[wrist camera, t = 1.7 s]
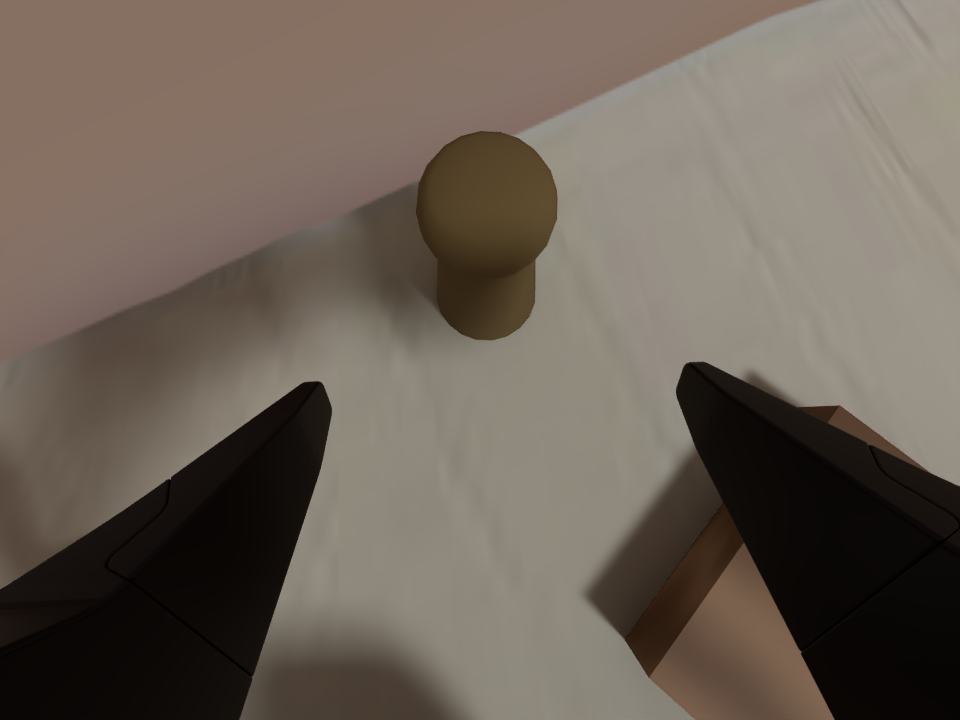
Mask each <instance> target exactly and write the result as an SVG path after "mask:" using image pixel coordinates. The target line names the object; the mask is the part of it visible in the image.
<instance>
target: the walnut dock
mask: <svg viewBox="0 0 960 720" xmlns="http://www.w3.org/2000/svg"><path fill="white" fill-rule="evenodd" d="M797 408H799V409H801V410H803V411H805V412H807V413H809V414H811V415H813V416H815V417H817V418H819V419H821V420H823V421H825V422H827V423H829V424H831V425H833V426H835V427H837V428H839V429H841V430H843V431H845V432H847V433H849V434H851V435H853V436H855V437H857V438H859V439H861V440H863V441H865V442H867V443H868V445H873V446H875V447H877V448H879V449H881V450H883V451H885V452H887V453H889V454H891V455H893V456H896V457H898V458H900V459H902V460H904V461H906V462H908V463H910V464H912V465H914V466H916V467H918V468H920V469H923V470H925V471H927V470H926V469H924V468H923V467H922V466H920V465H919V464H918V463H916V462H915V461H914V460H912V459H911V458H910V457H908V456H907V455H906V454H904V453H903V452H902V451H900V450H899V449H898V448H896V447H895V446H894V445H892V444H891V443H890V442H888V441H887V440H885V439H884V438H883V437H881V436H880V435H879V434H877V433H876V432H875V431H873V430H872V429H871V428H869V427H868V426H867V425H865V424H864V423H863V422H861V421H860V420H859V419H857V418H856V417H855V416H853V415H852V414H851V413H849V412H848V411H847V410H845V409H844V408H843V407H841V406H818V407H797ZM927 472H928V471H927ZM929 473H930V472H929ZM625 641H626V642H627V644H628V646H629V647H630V649H631V650H632V652H633V653H634V655H635V657H636V658H637V660H638V661H639V663H640V664H641V666H642V668H643V669H644V671H645V672H646V674H647V675H648V677H649V678H650V679H651V680H652V681H653V682H654V683H655V684H656V685H658V686H659V687H660V688H661V689H662V690H663V691H664V692H665V693H666V694H668V695H669V696H670V697H671V698H672V699H673V700H674V701H675V702H676V703H678V704H679V705H680V706H681V707H682V708H683V709H684V710H685V711H686V712H688V713H689V714H690V715H691V716H692V717H693V718H694V719H695V720H834V718H833V716H832V714H831V712H830V710H829V708H828V706H827V704H826V702H825V700H824V699H823V697H822V695H821V693H820V691H819V689H818V687H817V685H816V683H815V681H814V679H813V677H812V675H811V673H810V671H809V669H808V667H807V665H806V663H805V661H804V659H803V658H802V656H801V652H802V651H800V650H799V649H798V647H797V645H796V643H795V641H794V639H793V637H792V635H791V633H790V631H789V630H788V628H787V626H786V624H785V622H784V620H783V618H782V616H781V614H780V612H779V610H778V608H777V606H776V604H775V602H774V600H773V598H772V596H771V594H770V592H769V590H768V588H767V587H766V585H765V583H764V581H763V579H762V577H761V575H760V573H759V571H758V569H757V567H756V565H755V563H754V561H753V559H752V557H751V555H750V553H749V551H748V549H747V547H746V545H745V544H744V542H743V540H742V538H741V536H740V534H739V532H738V530H737V528H736V526H735V524H734V522H733V520H732V518H731V516H730V514H729V512H728V510H727V508H726V506H725V504H724V503H723V504H722V506H721V507H720V508H719V510H718V511H717V512H716V514H715V515H714V517H713V518H712V519H711V521H710V522H709V524H708V525H707V526H706V528H705V529H704V531H703V532H702V533H701V535H700V536H699V538H698V539H697V540H696V542H695V543H694V544H693V546H692V547H691V549H690V550H689V551H688V553H687V554H686V556H685V557H684V558H683V560H682V561H681V563H680V564H679V565H678V567H677V568H676V570H675V571H674V572H673V574H672V575H671V576H670V578H669V579H668V581H667V582H666V583H665V585H664V586H663V588H662V589H661V590H660V592H659V593H658V595H657V596H656V597H655V599H654V600H653V602H652V603H651V604H650V606H649V607H648V608H647V610H646V611H645V613H644V614H643V615H642V617H641V618H640V620H639V621H638V622H637V624H636V625H635V627H634V628H633V629H632V631H631V632H630V634H629V635H628V636H627V638H626V639H625Z"/></svg>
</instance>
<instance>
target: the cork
mask: <svg viewBox="0 0 960 720" xmlns="http://www.w3.org/2000/svg"><path fill="white" fill-rule="evenodd" d="M416 214H417V218H418V222H419V226H420V230H421V233H422V236H423V239H424V241H425V242H426V244H427V245H428V247H429V248H430V250H431V251H432V253H433V254H434V256H435V257H436V258H437V259H438V287H437V298H438V302H439V306H440V309H441V312H442V314H443V316H444V317H445V319H446V320H447V322H448V323H449V325H451V326H452V327H453V328H454V329H456V330H457V331H458V332H459V333H461V334H463V335H465V336H468V337H471V338H473V339H476V340H495V339H499V338H502V337H506V336H508V335H510V334H511V333H513V332H514V331H516V330H517V329H519V328H520V327H521V326H522V325H523V324H524V322H525V321H526V320H527V319H528V317H529V316H530V313H531V311H532V308H533V306H534V303H535V259H536V258H537V257H538V255H539V254H540V253H541V252H542V251H543V249H544V248H545V247H546V246H547V243H548V241H549V238H550V236H551V233H552V230H553V228H554V225H555V223H556V220H557V189H556V186H555V183H554V180H553V177H552V174H551V171H550V169H549V168H548V166H547V165H546V164H545V162H544V161H543V160H542V158H541V157H540V156H539V154H538V153H537V152H536V151H535V150H534V149H533V148H532V147H530V146H529V145H527V144H526V143H524V142H523V141H522V140H520V139H519V138H516V137H513V136H510V135H507V134H504V133H501V132H483V131H480V132H476V133H472V134H468V135H464V136H461V137H459V138H457V139H456V140H454V141H452V142H450V143H449V144H447V145H446V146H444V147H443V148H442V149H441V150H440V152H439V153H438V154H437V155H436V156H435V157H434V158H433V159H432V160H431V162H430V163H429V164H428V165H427V167H426V169H425V171H424V173H423V175H422V178H421V180H420V182H419V187H418V197H417V208H416Z"/></svg>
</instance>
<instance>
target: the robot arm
mask: <svg viewBox="0 0 960 720" xmlns="http://www.w3.org/2000/svg"><path fill="white" fill-rule="evenodd" d="M676 396H677V399H678V402H679V404H680V407H681V410H682V412H683V415H684V418H685V420H686V423H687V426H688V429H689V431H690V434H691V437H692V439H693V442H694V444H695V447H696V449H697V451H698V453H699V455H700V457H701V459H702V461H703V463H704V465H705V467H706V469H707V471H708V473H709V475H710V477H711V479H712V481H713V483H714V485H715V487H716V489H717V491H718V493H719V495H720V497H721V499H722V501H723V502H724V504H725V506H726V508H727V510H728V512H729V514H730V516H731V518H732V520H733V522H734V524H735V526H736V528H737V530H738V532H739V534H740V536H741V538H742V540H743V542H744V544H745V545H746V547H747V549H748V551H749V553H750V555H751V557H752V559H753V561H754V563H755V565H756V567H757V569H758V571H759V573H760V575H761V577H762V579H763V581H764V583H765V585H766V587H767V588H768V590H769V592H770V594H771V596H772V598H773V600H774V602H775V604H776V606H777V608H778V610H779V612H780V614H781V616H782V618H783V620H784V622H785V624H786V626H787V628H788V630H789V631H790V633H791V635H792V637H793V639H794V641H795V643H796V645H797V647H798V649H799V650H800V651H802V652H801V656H802V658H803V659H804V661H805V663H806V665H807V667H808V669H809V671H810V673H811V675H812V677H813V679H814V681H815V683H816V685H817V687H818V689H819V691H820V693H821V695H822V697H823V699H824V700H825V702H826V704H827V706H828V708H829V710H830V712H831V714H832V716H833V718H834V720H960V486H957V485H955V484H953V483H951V482H949V481H946V480H944V479H942V478H940V477H938V476H935V475H933V474H931V473H929V472H927V471H925V470H923V469H920V468H918V467H916V466H914V465H912V464H910V463H908V462H906V461H904V460H902V459H900V458H898V457H896V456H893V455H891V454H889V453H887V452H885V451H883V450H881V449H879V448H877V447H875V446H873V445H868V443H867V442H865V441H863V440H861V439H859V438H857V437H855V436H853V435H851V434H849V433H847V432H845V431H843V430H841V429H839V428H837V427H835V426H833V425H831V424H829V423H827V422H825V421H823V420H821V419H819V418H817V417H815V416H813V415H811V414H809V413H807V412H805V411H803V410H801V409H799V408H797V407H795V406H793V405H791V404H789V403H787V402H785V401H783V400H781V399H779V398H777V397H775V396H773V395H770V394H768V393H766V392H764V391H762V390H760V389H758V388H756V387H754V386H752V385H750V384H748V383H746V382H744V381H742V380H740V379H738V378H736V377H734V376H732V375H730V374H728V373H726V372H724V371H722V370H720V369H718V368H716V367H714V366H712V365H710V364H708V363H706V362H689V363H686V364H685V365H684V367H683V370H682V373H681V376H680V379H679V382H678V385H677V388H676ZM331 416H332V407H331V404H330V401H329V398H328V396H327V393H326V390H325V388H324V385H323V384H322V383H321V382H319V381H313V382H304V383H302V384H300V385H299V386H298V387H296V388H295V389H293V390H292V391H291V392H289V393H288V394H286V395H285V396H284V397H282V398H281V399H279V400H278V401H277V402H275V403H274V404H272V405H271V406H270V407H268V408H267V409H265V410H264V411H263V412H261V413H260V414H258V415H257V416H256V417H254V418H253V419H251V420H250V421H249V422H247V423H246V424H244V425H243V426H242V427H240V428H239V429H237V430H236V431H235V432H233V433H232V434H231V435H229V436H228V437H226V438H225V439H224V440H222V441H221V442H219V443H218V444H217V445H215V446H214V447H212V448H211V449H210V450H208V451H207V452H205V453H204V454H203V455H201V456H200V457H198V458H197V459H196V460H194V461H193V462H191V463H190V464H189V465H187V466H186V467H184V468H183V469H182V470H180V471H179V472H177V473H176V474H175V475H173V476H172V477H171V480H170V479H168V480H166V481H165V482H163V483H162V484H161V485H159V486H158V487H156V488H155V489H154V490H152V491H151V492H149V493H148V494H147V495H145V496H144V497H142V498H141V499H139V500H138V501H136V502H135V503H134V504H132V505H131V506H129V507H128V508H126V509H125V510H123V511H122V512H121V513H119V514H117V515H116V516H114V517H113V518H111V519H110V520H108V521H107V522H105V523H104V524H102V525H101V526H99V527H98V528H96V529H95V530H93V531H91V532H90V533H88V534H87V535H85V536H84V537H82V538H81V539H79V540H77V541H76V542H74V543H73V544H71V545H70V546H68V547H66V548H65V549H63V550H62V551H60V552H59V553H57V554H56V555H54V556H52V557H51V558H49V559H48V560H46V561H45V562H43V563H41V564H40V565H38V566H37V567H35V568H34V569H32V570H31V571H29V572H27V573H26V574H24V575H23V576H21V577H20V578H18V579H16V580H15V581H13V582H12V583H10V584H9V585H7V586H5V587H4V588H2V589H0V720H239V719H240V716H241V713H242V709H243V706H244V703H245V700H246V697H247V694H248V691H249V688H250V685H251V682H252V676H253V675H254V672H255V669H256V666H257V663H258V660H259V657H260V653H261V650H262V647H263V644H264V641H265V638H266V635H267V632H268V629H269V626H270V623H271V620H272V617H273V614H274V611H275V608H276V605H277V601H278V598H279V595H280V592H281V589H282V586H283V583H284V580H285V577H286V574H287V571H288V568H289V565H290V562H291V559H292V556H293V552H294V549H295V546H296V543H297V540H298V537H299V534H300V531H301V528H302V525H303V522H304V519H305V516H306V513H307V510H308V507H309V504H310V500H311V497H312V494H313V491H314V488H315V485H316V482H317V479H318V476H319V472H320V469H321V465H322V461H323V456H324V451H325V446H326V441H327V436H328V431H329V426H330V421H331Z"/></svg>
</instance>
